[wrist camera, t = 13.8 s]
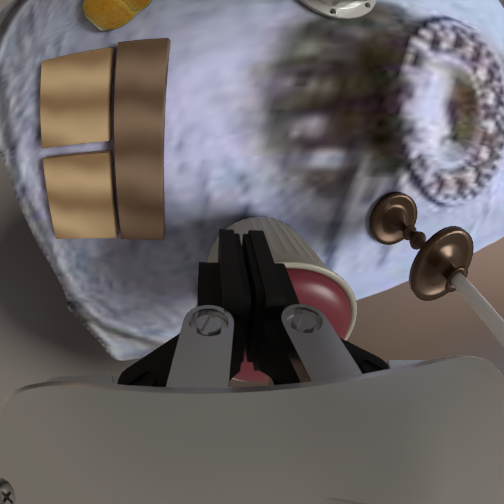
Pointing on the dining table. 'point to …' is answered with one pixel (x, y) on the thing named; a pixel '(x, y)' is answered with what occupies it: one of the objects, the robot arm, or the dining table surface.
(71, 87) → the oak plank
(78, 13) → the dining table surface
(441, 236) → the candlestick
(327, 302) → the canister
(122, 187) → the walnut floor strip
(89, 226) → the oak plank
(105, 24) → the bread roll
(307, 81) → the dining table surface
